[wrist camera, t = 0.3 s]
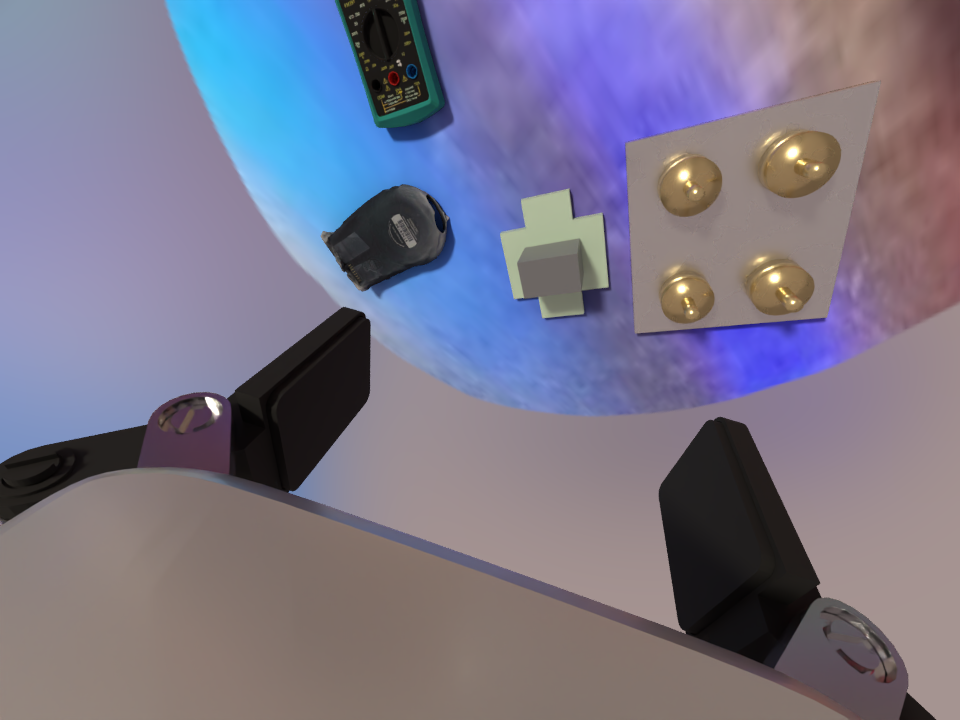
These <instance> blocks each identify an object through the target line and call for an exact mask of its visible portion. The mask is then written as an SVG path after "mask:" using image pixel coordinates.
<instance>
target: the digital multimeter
mask: <svg viewBox="0 0 960 720" xmlns="http://www.w3.org/2000/svg"><path fill="white" fill-rule="evenodd" d="M335 3H336V5H337V8H338V11H339V14H340V16H341V19H342V22H343V25H344V28H345V31H346V33H347V36H348V39H349V42H350V45H351V48H352V50H353V54H354V57H355V60H356V63H357V66H358V69H359V72H360V76H361V79H362V82H363V85H364V88H365V91H366V95H367V98H368V101H369V105H370V108H371V112H372V115H373V118H374V122H375V124H376V126H377V127H379V128H393V127H402V126H408V125H412V124H415V123H418V122H421V121H423V120H425V119H427V118H428V117H430V116H432V115H433V114H435V113H436V112H437V111H439V110H440V109H442V108H443V107H444V105H445V100H444V97H443V94H442V90H441V87H440V84H439V80H438V77H437V74H436V71H435V67H434V64H433V60H432V56H431V53H430V49H429V46H428V42H427V39H426V35H425V32H424V28H423V25H422V20H421V16H420V12H419V8H418V4H417V0H335ZM405 8H406V9H405ZM363 17H364V18H363ZM408 19H409V20H408ZM362 20H363V21H362ZM361 25H362V26H361ZM411 30H412V31H411ZM414 41H415V42H414ZM417 52H418V53H417ZM388 60H389V61H388ZM420 63H421V64H420ZM423 74H424V75H423Z"/></svg>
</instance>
